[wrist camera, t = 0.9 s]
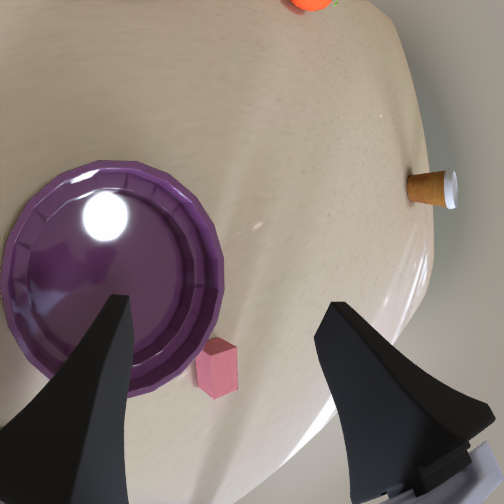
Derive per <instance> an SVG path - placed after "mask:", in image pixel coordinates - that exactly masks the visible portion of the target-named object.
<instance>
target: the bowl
mask: <svg viewBox="0 0 504 504" xmlns="http://www.w3.org/2000/svg"><path fill="white" fill-rule="evenodd" d="M0 289H1V295H2V301H3V306H4V311H5V316H6V320H7V325H8V327H9V329H10V331H11V333H12V334H13V336H14V338H15V340H16V342H17V343H18V345H19V347H20V348H21V350H22V352H23V353H24V355H25V357H26V358H27V360H28V361H29V362H30V363H31V364H32V365H33V366H35V367H36V368H37V369H38V370H39V371H40V372H41V373H43V374H44V375H45V376H46V377H47V378H49V379H50V380H51V378H52V377H53V376H54V375H55V374H56V372H57V371H58V370H59V369H60V367H61V366H62V365H63V363H64V362H65V361H66V359H67V358H68V357H69V355H70V354H71V353H72V351H73V350H74V349H75V347H76V346H77V345H78V343H79V342H80V340H81V339H82V337H83V336H84V335H85V333H86V332H87V330H88V329H89V327H90V326H91V324H92V323H93V321H94V320H95V318H96V317H97V315H98V314H99V312H100V310H101V309H102V307H103V306H104V304H105V302H106V301H107V299H108V298H109V296H110V295H111V294H119V295H129V297H130V306H131V314H132V322H133V329H134V335H135V336H134V350H133V363H132V369H131V375H130V381H129V388H128V394H127V398H131V397H134V396H138V395H142V394H145V393H149V392H152V391H155V390H156V389H158V388H159V387H161V386H163V385H164V384H166V383H167V382H169V381H171V380H172V379H174V378H175V377H177V376H178V375H180V374H181V373H182V372H183V371H184V370H185V369H186V368H187V367H188V366H189V365H190V363H191V362H192V361H193V360H194V359H195V358H196V357H197V356H198V355H199V353H200V352H201V351H202V350H203V348H204V346H205V344H206V342H207V340H208V338H209V336H210V334H211V333H212V331H213V329H214V327H215V325H216V323H217V320H218V316H219V311H220V307H221V303H222V298H223V294H224V257H223V253H222V250H221V247H220V243H219V240H218V236H217V233H216V229H215V226H214V224H213V222H212V221H211V219H210V218H209V216H208V214H207V213H206V211H205V210H204V208H203V206H202V205H201V203H200V202H199V200H198V199H197V197H196V196H195V195H194V194H192V193H191V192H190V191H189V190H188V189H187V188H185V187H184V186H183V185H182V184H181V183H179V182H178V181H177V180H176V179H175V178H174V177H172V176H171V175H170V174H168V173H166V172H163V171H161V170H158V169H155V168H153V167H150V166H148V165H145V164H143V163H140V162H137V161H115V160H99V161H94V162H91V163H89V164H86V165H83V166H80V167H77V168H74V169H72V170H69V171H66V172H64V173H61V174H59V175H58V176H57V177H56V178H54V179H53V180H52V181H51V182H49V183H48V184H47V185H46V186H45V187H44V188H42V189H41V190H40V191H39V192H38V193H37V194H35V195H34V196H33V197H32V198H31V199H30V200H29V201H28V202H27V204H26V205H25V207H24V209H23V210H22V212H21V214H20V216H19V217H18V219H17V221H16V223H15V225H14V226H13V228H12V230H11V232H10V234H9V236H8V238H7V241H6V245H5V250H4V256H3V262H2V269H1V277H0Z"/></svg>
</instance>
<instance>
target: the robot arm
mask: <svg viewBox="0 0 504 504" xmlns="http://www.w3.org/2000/svg"><path fill="white" fill-rule="evenodd" d="M134 336H135V335H134V329H133V322H132V314H131V306H130V297H129V295H119V294H111V295H110V296H109V298H108V299H107V301H106V302H105V304H104V306H103V307H102V309H101V310H100V312H99V314H98V315H97V317H96V318H95V320H94V321H93V323H92V324H91V326H90V327H89V329H88V330H87V332H86V333H85V335H84V336H83V337H82V339H81V340H80V342H79V343H78V345H77V346H76V347H75V349H74V350H73V351H72V353H71V354H70V355H69V357H68V358H67V359H66V361H65V362H64V363H63V365H62V366H61V367H60V369H59V370H58V371H57V372H56V374H55V375H54V376H53V377H52V378H51V380H50V381H49V382H48V383H47V384H46V385H45V387H44V388H43V389H42V390H41V391H40V392H39V393H38V394H37V395H36V396H35V397H34V399H33V400H32V401H31V402H30V403H29V404H28V405H27V406H26V407H25V408H24V409H23V410H22V411H21V412H19V413H18V414H17V415H16V416H15V417H14V418H13V419H12V420H11V421H10V422H9V423H8V424H7V425H5V426H4V427H3V428H2V429H0V504H129V502H128V495H127V486H126V475H125V460H124V417H125V409H126V401H127V394H128V388H129V381H130V375H131V369H132V363H133V350H134ZM314 341H315V346H316V351H317V355H318V359H319V362H320V365H321V368H322V370H323V373H324V376H325V378H326V381H327V384H328V386H329V389H330V392H331V394H332V397H333V399H334V402H335V405H336V408H337V411H338V414H339V418H340V422H341V425H342V430H343V434H344V440H345V446H346V451H347V457H348V466H349V475H350V498H351V501H352V504H361V503H363V502H367V501H369V500H372V499H375V498H378V497H380V496H382V495H385V494H388V497H389V499H388V500H386V501H384V502H382V503H379V504H483V502H484V501H485V500H486V498H487V497H488V496H489V495H490V494H491V493H492V492H493V490H494V489H495V488H496V487H497V486H498V485H499V484H500V483H501V482H502V481H503V480H504V477H503V474H502V472H501V470H500V468H499V465H498V463H497V460H496V458H495V456H494V454H493V451H492V449H491V447H490V445H489V443H488V441H485V442H483V443H482V444H480V445H479V446H477V447H476V448H474V449H473V450H472V451H471V452H469V453H468V451H467V449H468V448H470V446H471V445H470V443H469V440H470V439H471V438H473V437H475V436H476V435H477V434H479V433H480V432H481V431H483V430H484V429H485V428H487V427H488V426H489V425H490V424H492V423H493V422H494V421H495V419H496V418H495V416H494V414H493V412H492V411H491V409H490V407H489V406H488V404H486V403H484V402H481V401H479V400H476V399H474V398H471V397H469V396H466V395H464V394H462V393H460V392H458V391H456V390H454V389H452V388H450V387H449V386H447V385H445V384H443V383H442V382H440V381H438V380H437V379H435V378H434V377H432V376H431V375H429V374H427V373H426V372H425V371H423V370H422V369H421V368H419V367H418V366H417V365H415V364H414V363H413V362H411V361H410V360H409V359H407V358H406V357H405V356H404V355H403V354H402V353H400V352H399V351H398V350H397V349H396V348H395V347H393V346H392V345H391V344H390V343H389V342H388V341H387V340H386V339H385V338H384V337H382V336H381V335H380V334H379V333H378V332H377V331H376V330H375V329H374V328H373V327H372V326H371V325H370V324H369V323H368V322H367V321H366V320H364V319H363V318H362V317H361V316H360V315H359V314H358V313H357V312H356V311H355V310H354V309H353V308H351V307H350V306H349V305H348V304H347V303H346V302H331V303H330V305H329V307H328V309H327V311H326V313H325V316H324V318H323V320H322V322H321V324H320V326H319V328H318V330H317V332H316V334H315V336H314Z"/></svg>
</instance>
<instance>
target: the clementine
mask: <svg viewBox="0 0 504 504" xmlns="http://www.w3.org/2000/svg"><path fill="white" fill-rule="evenodd" d="M290 1H291V2H292V3H293V4H294V5H295V6H297V7H299V8H301V9H303V10H307V11H317V10H321V9H324V8H325V7H327V6H328V5H329V4H330V3H331V1H332V0H290ZM337 2H338V0H337ZM337 2H336V4H337ZM336 4H335V5H336ZM335 5H334V6H335Z"/></svg>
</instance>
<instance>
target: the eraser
mask: <svg viewBox="0 0 504 504" xmlns="http://www.w3.org/2000/svg"><path fill="white" fill-rule="evenodd" d="M195 363H196V373H197V382H198V387H200V388H201V389H202V390H203V391H204V392H206V393H207V394H208V395H209V396H210V397H212V398H213V399H216V398H218V397H221V396H223V395H226V394H228V393H230V392H233V391H235V390H237V389H238V371H237V347H236V346H234V345H232V344H230V343H228V342H227V341H225V340H223V339H221V338H219V337H218V338H215V339H211V340H208V341H207V342H206V344H205V346H204V348H203V350H202V351H201V352H200V353H199V355H198V356H197V357H196V358H195Z"/></svg>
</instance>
